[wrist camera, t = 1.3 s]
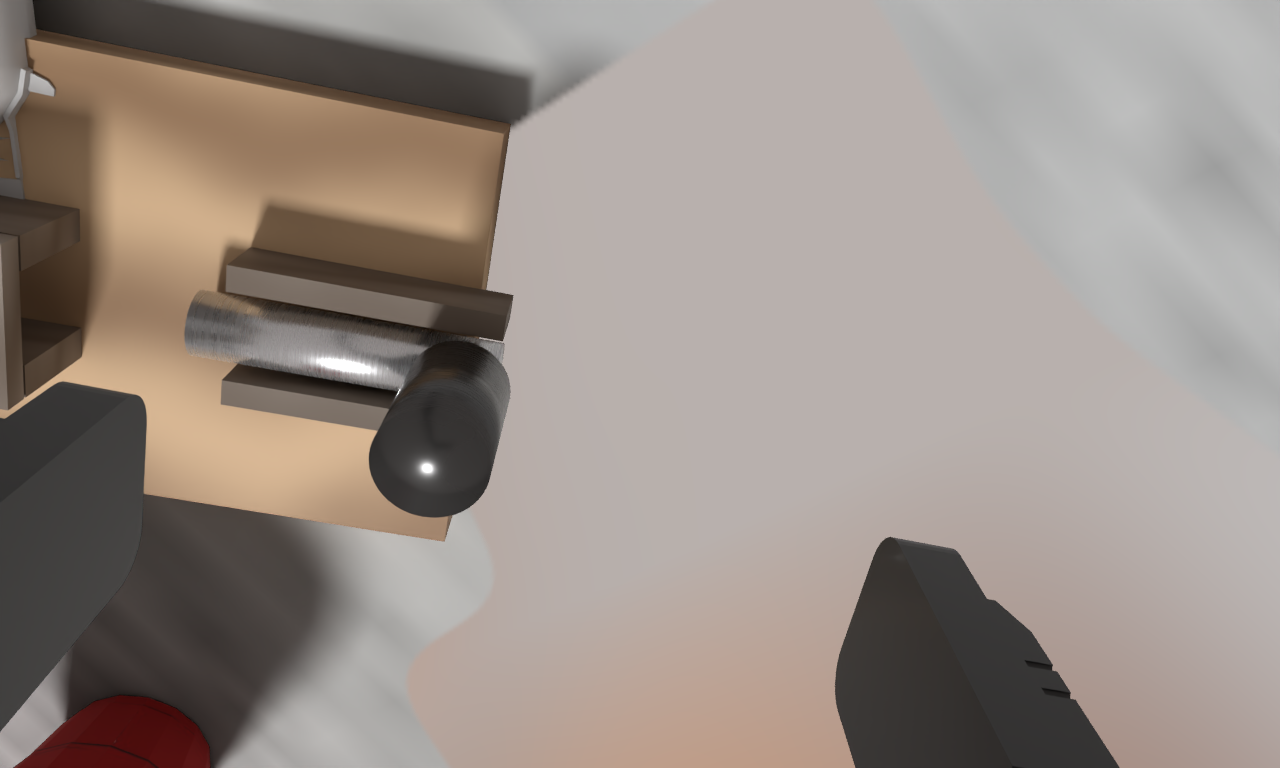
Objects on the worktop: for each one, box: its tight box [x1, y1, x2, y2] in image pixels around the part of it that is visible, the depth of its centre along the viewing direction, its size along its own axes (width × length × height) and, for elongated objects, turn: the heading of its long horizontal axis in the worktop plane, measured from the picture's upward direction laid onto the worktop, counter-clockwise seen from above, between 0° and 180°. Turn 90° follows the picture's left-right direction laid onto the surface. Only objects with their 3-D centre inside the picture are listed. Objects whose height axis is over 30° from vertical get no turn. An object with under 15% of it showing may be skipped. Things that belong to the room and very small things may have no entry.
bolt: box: [184, 290, 510, 518], centre depth 28 cm, size 3×10×7 cm, turn 79°
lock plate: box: [0, 29, 513, 542], centre depth 30 cm, size 14×21×6 cm, turn 79°
